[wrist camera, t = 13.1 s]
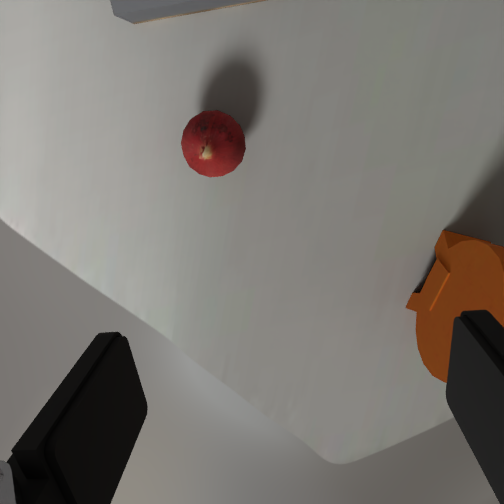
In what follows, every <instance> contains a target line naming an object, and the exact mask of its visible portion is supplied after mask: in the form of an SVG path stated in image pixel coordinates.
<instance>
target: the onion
mask: <svg viewBox="0 0 504 504" xmlns="http://www.w3.org/2000/svg"><path fill="white" fill-rule="evenodd" d="M181 145H182V150H183V155H184V157H185V159H186V161H187V163H188V165H189V166H190V167H191V168H192V169H193V170H195V171H196V172H197V173H199V174H201V175H205V176H208V177H218V176H224V175H226V174H228V173H230V172H232V171H234V170H235V168H236V167H237V166H238V165H239V164H240V163H241V162H242V159H243V156H244V153H245V149H246V147H245V137H244V134H243V132H242V129H241V127H240V125H239V124H238V123H237V122H236V121H235V120H234V119H233V118H232V117H231V116H230V115H227V114H225V113H223V112H220V111H218V110H214V111H203V112H201V113H200V114H198V115H196V116H195V117H193V118H192V119H191V120H190V121H189V123H188V124H187V126H186V127H185V129H184V131H183V136H182V141H181Z"/></svg>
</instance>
